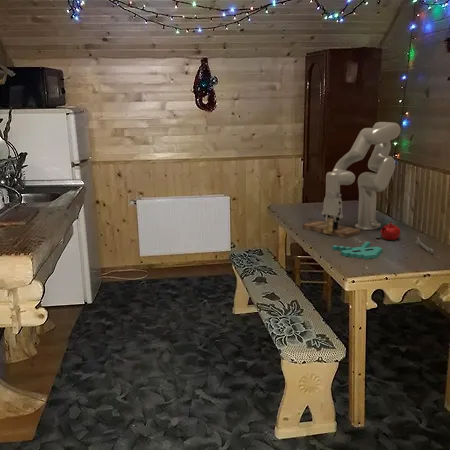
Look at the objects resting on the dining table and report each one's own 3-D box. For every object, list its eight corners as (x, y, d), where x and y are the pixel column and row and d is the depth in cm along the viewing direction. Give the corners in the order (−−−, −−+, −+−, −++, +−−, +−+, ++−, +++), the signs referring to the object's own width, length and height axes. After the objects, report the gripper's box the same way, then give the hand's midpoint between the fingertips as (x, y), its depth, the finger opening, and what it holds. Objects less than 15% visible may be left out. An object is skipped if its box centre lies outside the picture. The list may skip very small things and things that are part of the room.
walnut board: (359, 233, 286) (359, 229, 286) (346, 238, 279) (346, 233, 278) (316, 224, 308) (316, 220, 308) (302, 228, 301) (302, 224, 300)
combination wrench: (433, 248, 247) (418, 236, 266) (430, 248, 247) (415, 236, 266) (432, 256, 248) (417, 243, 267) (430, 256, 248) (415, 243, 267)
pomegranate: (402, 238, 277) (403, 221, 275) (396, 242, 269) (398, 224, 267) (383, 235, 282) (385, 218, 280) (377, 239, 274) (378, 222, 272)
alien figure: (332, 250, 261) (351, 261, 242) (332, 245, 260) (352, 257, 242) (368, 245, 266) (390, 257, 247) (368, 241, 265) (390, 252, 247)
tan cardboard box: (338, 232, 289) (339, 217, 286) (330, 234, 284) (331, 219, 282) (331, 230, 292) (331, 216, 290) (323, 232, 288) (323, 218, 286)
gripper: (349, 195, 280) (348, 228, 284) (324, 192, 292) (323, 223, 296) (341, 197, 275) (340, 231, 279) (315, 193, 287) (315, 226, 291)
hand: (331, 227), depth 288 cm, fingers closed on tan cardboard box, 4 cm apart
